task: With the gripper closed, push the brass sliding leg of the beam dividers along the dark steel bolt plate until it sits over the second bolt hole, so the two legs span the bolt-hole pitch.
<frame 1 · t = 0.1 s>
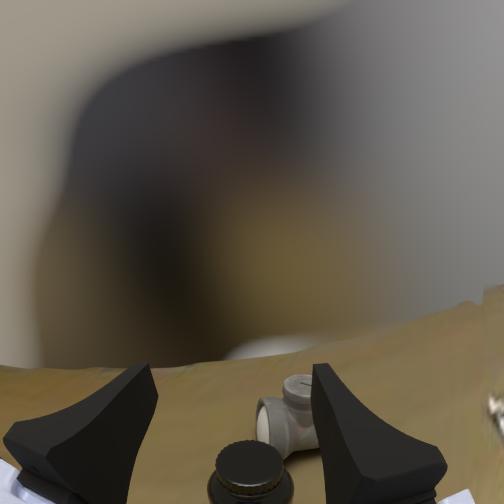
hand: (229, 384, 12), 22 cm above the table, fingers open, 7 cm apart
pipe fitting: (306, 445, 30), on the table
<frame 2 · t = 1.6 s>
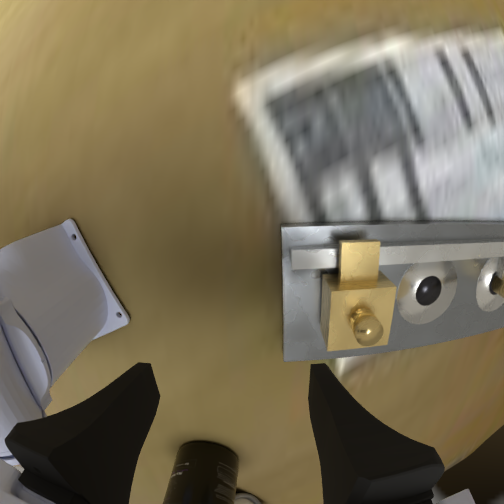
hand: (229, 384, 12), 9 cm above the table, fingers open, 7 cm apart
bolt plate: (421, 284, 20), on the table
pipe fitting: (219, 500, 31), on the table
supplement bottle: (208, 455, 27), on the table
sliding leg: (361, 297, 16), point 4 cm above the table, slide at 0.0 cm
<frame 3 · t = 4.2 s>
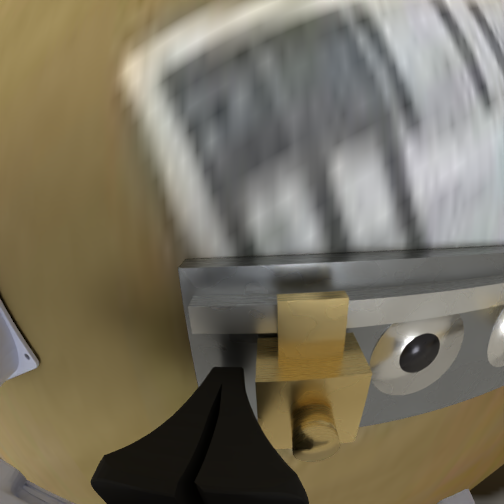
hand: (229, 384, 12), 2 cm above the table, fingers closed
bolt plate: (410, 341, 13), on the table
sliding leg: (312, 385, 10), point 4 cm above the table, slide at 0.5 cm, touching gripper
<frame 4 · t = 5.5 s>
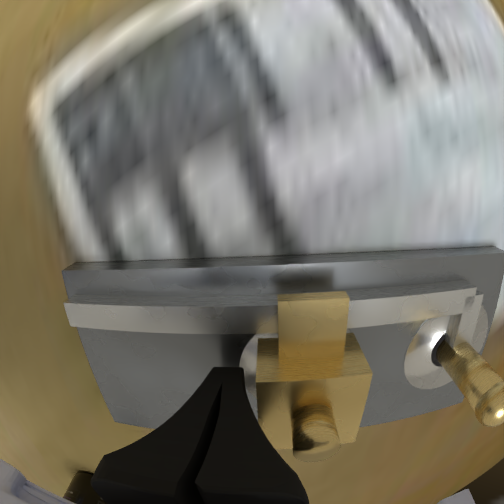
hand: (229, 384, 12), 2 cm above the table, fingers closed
bolt plate: (299, 353, 14), on the table
supplement bottle: (104, 486, 20), on the table
sliding leg: (312, 385, 10), point 4 cm above the table, slide at 6.6 cm, touching gripper
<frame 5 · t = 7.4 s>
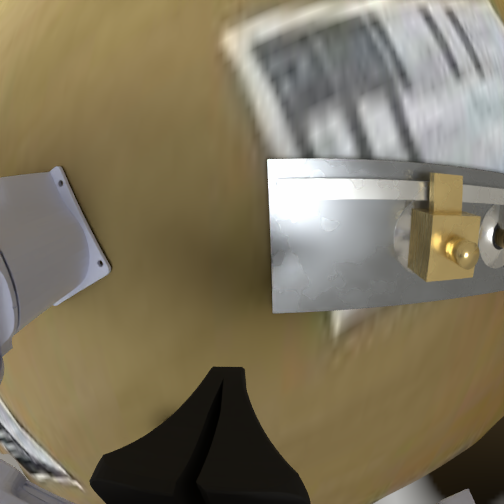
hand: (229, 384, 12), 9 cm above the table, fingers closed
bolt plate: (420, 232, 19), on the table
sliding leg: (452, 227, 15), point 4 cm above the table, slide at 6.8 cm
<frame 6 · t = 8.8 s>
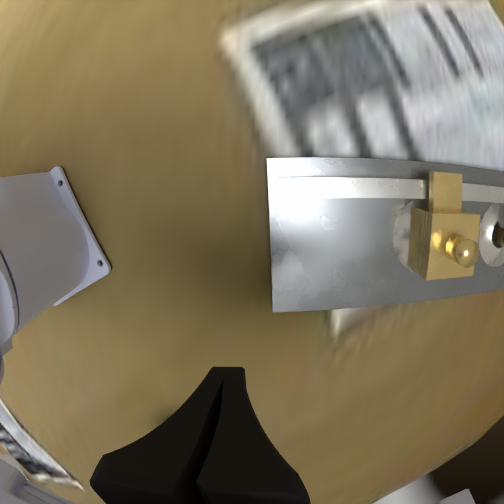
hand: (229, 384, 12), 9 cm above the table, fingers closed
bolt plate: (419, 231, 19), on the table
sliding leg: (451, 225, 15), point 4 cm above the table, slide at 6.8 cm
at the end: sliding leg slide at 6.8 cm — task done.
